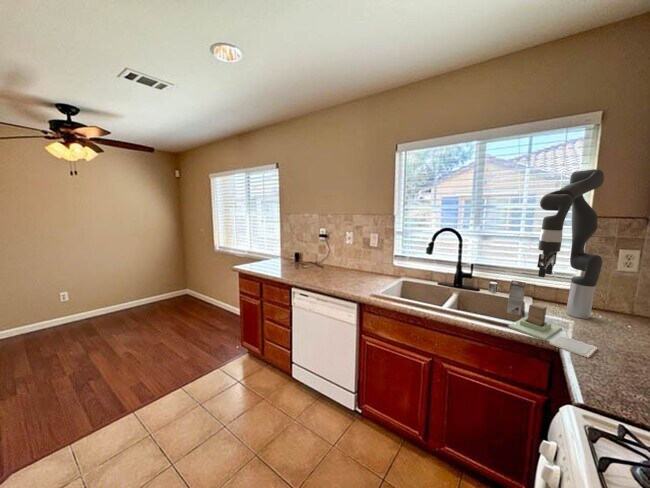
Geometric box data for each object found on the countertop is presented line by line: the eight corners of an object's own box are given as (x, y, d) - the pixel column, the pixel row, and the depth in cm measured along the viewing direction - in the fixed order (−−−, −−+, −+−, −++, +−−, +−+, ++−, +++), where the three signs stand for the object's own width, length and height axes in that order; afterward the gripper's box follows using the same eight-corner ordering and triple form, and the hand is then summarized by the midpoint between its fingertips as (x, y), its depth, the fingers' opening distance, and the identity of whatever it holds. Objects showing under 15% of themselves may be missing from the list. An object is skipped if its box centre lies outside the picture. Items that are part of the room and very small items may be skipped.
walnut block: (530, 322, 128) (533, 303, 126) (543, 327, 123) (546, 306, 122) (526, 325, 125) (529, 305, 123) (539, 329, 121) (542, 308, 119)
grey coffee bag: (507, 307, 149) (511, 279, 146) (522, 310, 145) (526, 282, 142) (506, 312, 142) (510, 283, 139) (521, 315, 138) (525, 286, 135)
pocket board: (526, 317, 136) (527, 312, 135) (561, 329, 124) (562, 323, 123) (508, 327, 125) (509, 321, 124) (544, 340, 113) (545, 333, 113)
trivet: (559, 336, 117) (559, 334, 117) (597, 349, 107) (597, 346, 107) (548, 343, 110) (549, 341, 110) (588, 358, 100) (588, 355, 100)
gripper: (545, 237, 124) (540, 271, 127) (533, 240, 116) (528, 275, 119) (566, 240, 118) (560, 275, 120) (555, 242, 110) (549, 280, 113)
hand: (545, 275), depth 120 cm, fingers open, 8 cm apart
